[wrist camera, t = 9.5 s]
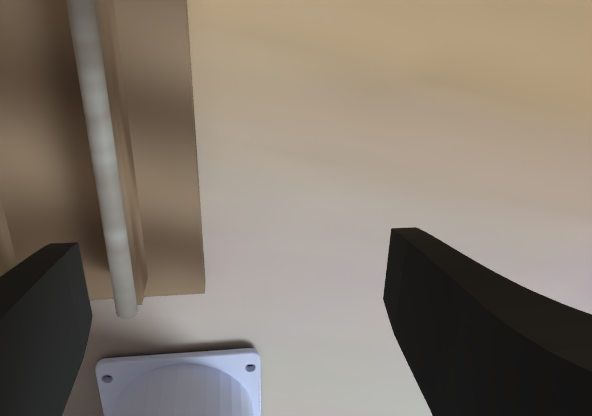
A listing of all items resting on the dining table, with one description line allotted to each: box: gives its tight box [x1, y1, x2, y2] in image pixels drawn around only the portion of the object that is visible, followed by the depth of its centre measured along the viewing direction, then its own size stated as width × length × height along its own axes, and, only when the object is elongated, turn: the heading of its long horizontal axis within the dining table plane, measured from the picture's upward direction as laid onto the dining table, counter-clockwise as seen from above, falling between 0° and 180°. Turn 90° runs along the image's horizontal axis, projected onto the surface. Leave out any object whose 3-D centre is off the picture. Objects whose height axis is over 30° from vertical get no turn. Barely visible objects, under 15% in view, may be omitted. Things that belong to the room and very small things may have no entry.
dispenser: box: [0, 0, 205, 318], centre depth 18 cm, size 18×11×4 cm, turn 179°
